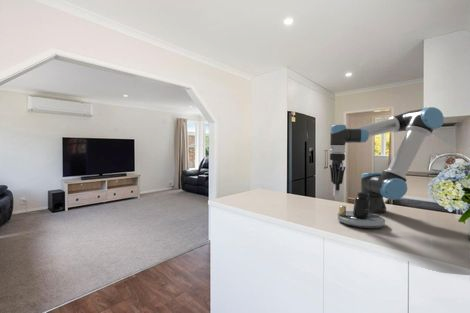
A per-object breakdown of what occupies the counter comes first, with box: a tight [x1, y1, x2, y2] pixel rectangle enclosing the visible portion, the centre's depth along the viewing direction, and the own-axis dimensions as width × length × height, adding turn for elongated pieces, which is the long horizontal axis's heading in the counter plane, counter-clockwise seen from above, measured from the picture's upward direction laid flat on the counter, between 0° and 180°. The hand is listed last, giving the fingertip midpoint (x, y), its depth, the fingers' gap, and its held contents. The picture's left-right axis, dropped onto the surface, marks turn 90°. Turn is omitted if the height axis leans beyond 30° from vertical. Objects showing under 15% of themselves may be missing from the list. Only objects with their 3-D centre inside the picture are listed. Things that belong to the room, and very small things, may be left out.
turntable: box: [337, 205, 386, 229], centre depth 114 cm, size 21×21×7 cm
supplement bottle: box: [352, 191, 370, 218], centre depth 114 cm, size 7×7×12 cm
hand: (336, 195), depth 123 cm, fingers closed
